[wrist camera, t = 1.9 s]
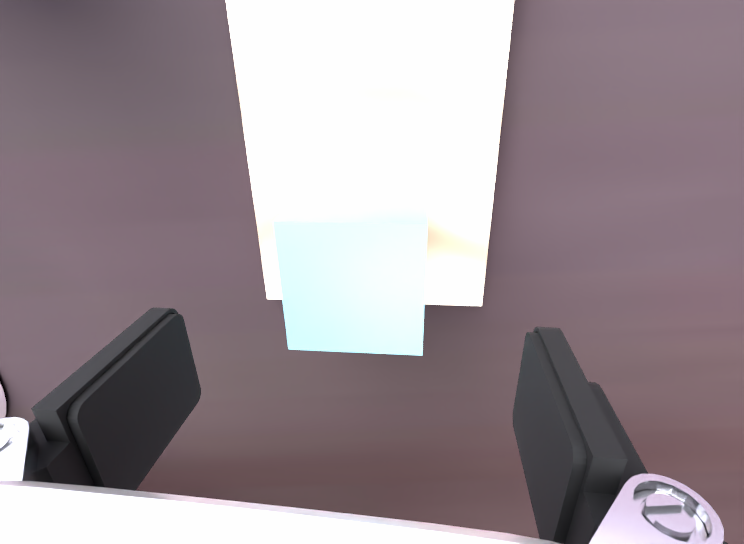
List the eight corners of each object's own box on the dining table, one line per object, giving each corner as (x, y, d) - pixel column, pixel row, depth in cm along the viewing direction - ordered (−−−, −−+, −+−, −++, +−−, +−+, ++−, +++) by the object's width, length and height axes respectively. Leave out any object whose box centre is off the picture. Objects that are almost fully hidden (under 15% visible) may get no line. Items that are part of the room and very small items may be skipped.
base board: (478, 293, 24) (481, 306, 23) (275, 287, 25) (267, 298, 24) (526, -181, 16) (536, -206, 14) (218, -157, 17) (200, -178, 15)
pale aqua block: (421, 282, 22) (422, 355, 16) (322, 279, 23) (288, 349, 17) (425, 181, 20) (427, 224, 14) (315, 180, 21) (272, 221, 15)
